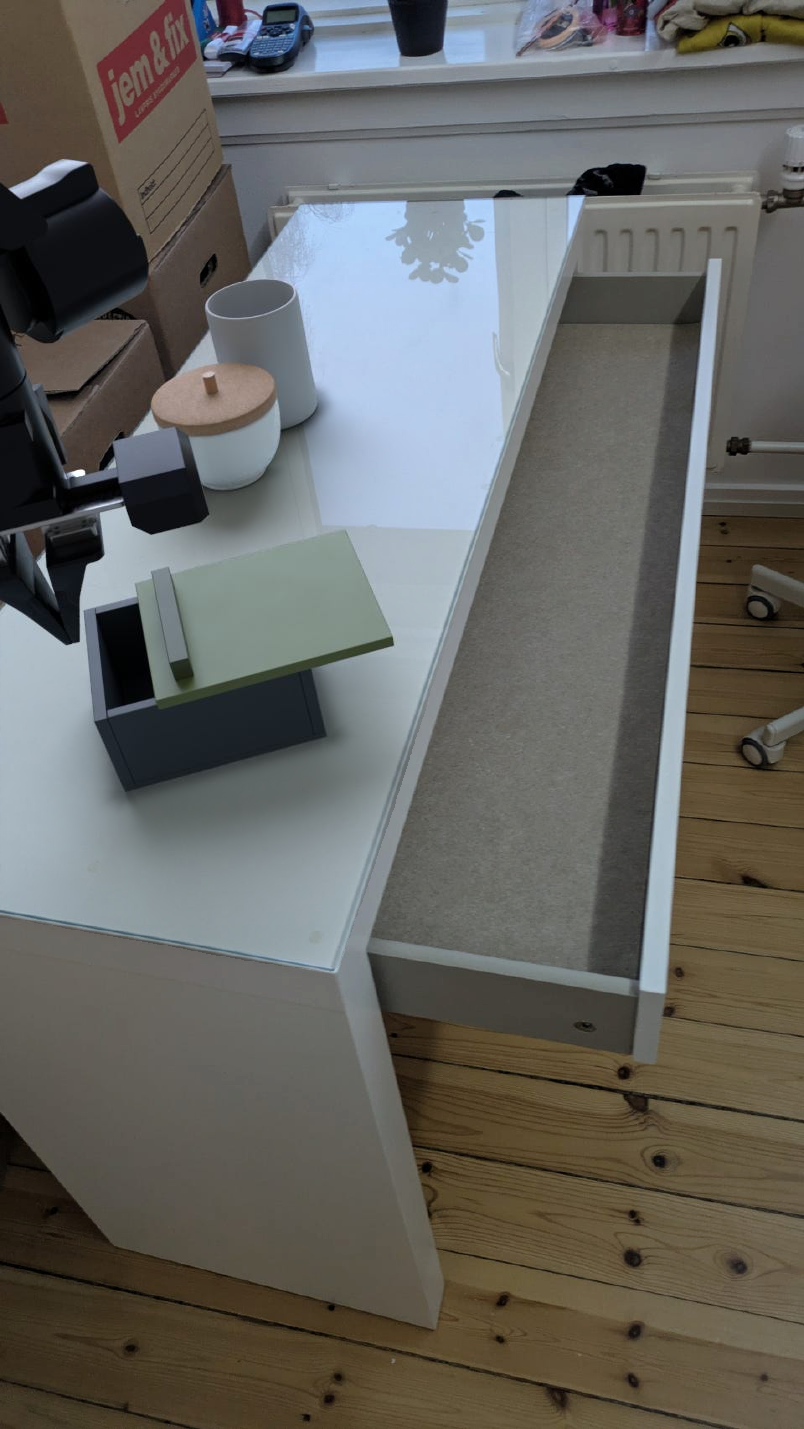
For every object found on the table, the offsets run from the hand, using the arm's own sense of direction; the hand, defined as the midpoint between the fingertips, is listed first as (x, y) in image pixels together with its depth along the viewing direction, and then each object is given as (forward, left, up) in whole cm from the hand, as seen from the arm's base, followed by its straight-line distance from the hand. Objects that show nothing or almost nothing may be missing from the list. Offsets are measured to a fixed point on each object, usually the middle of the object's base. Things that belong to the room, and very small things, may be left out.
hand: (72, 639), depth 62 cm
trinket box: (+12, +36, -13) cm, 40 cm away
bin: (+6, +6, -13) cm, 16 cm away
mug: (+18, +47, -13) cm, 52 cm away
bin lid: (+11, +6, -6) cm, 14 cm away
